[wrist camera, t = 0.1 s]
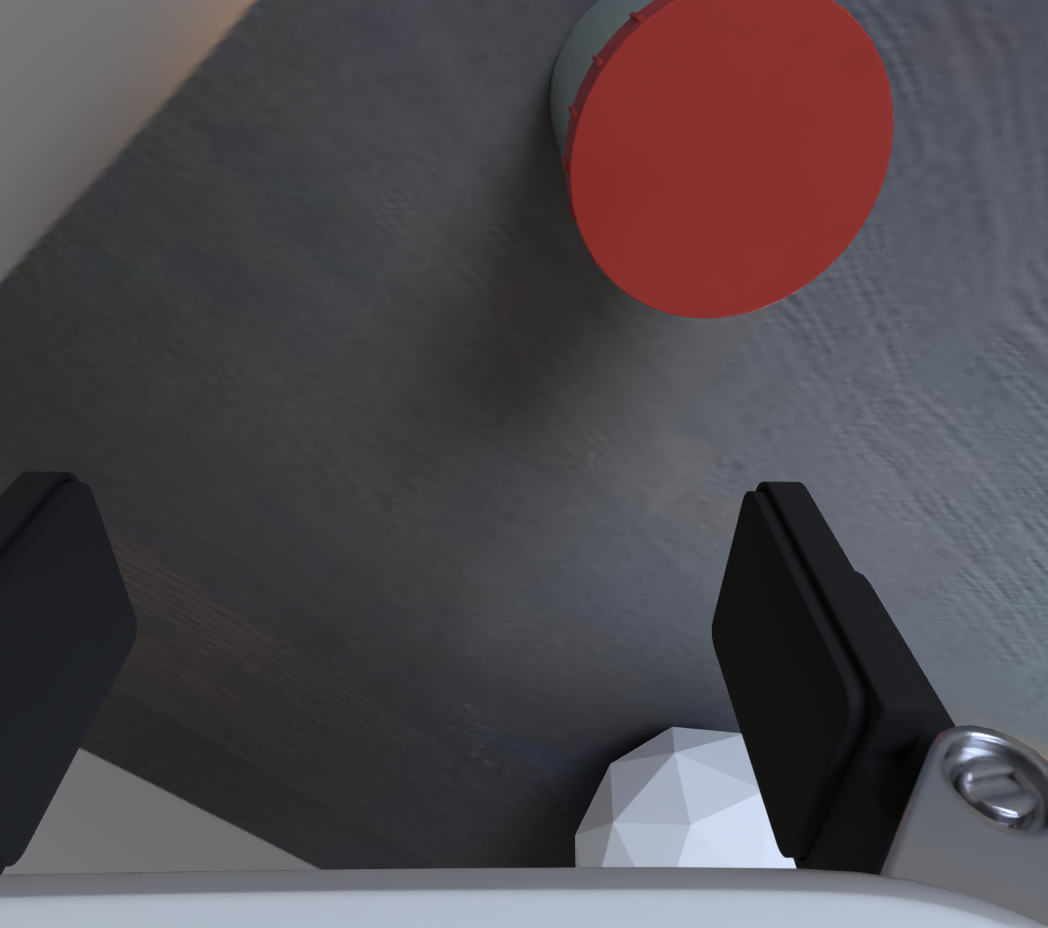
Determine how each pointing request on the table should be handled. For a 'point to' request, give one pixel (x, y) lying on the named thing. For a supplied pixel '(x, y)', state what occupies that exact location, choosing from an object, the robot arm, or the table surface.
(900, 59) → the table surface
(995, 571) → the table surface
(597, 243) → the jar lid
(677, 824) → the geodesic sphere
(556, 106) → the jam jar
